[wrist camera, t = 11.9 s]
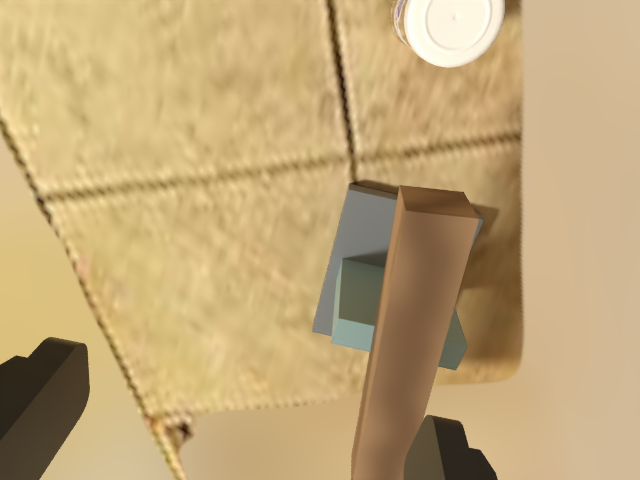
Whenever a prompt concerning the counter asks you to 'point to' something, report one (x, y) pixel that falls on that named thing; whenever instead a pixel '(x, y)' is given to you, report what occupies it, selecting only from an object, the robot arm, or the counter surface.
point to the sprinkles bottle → (447, 28)
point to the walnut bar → (411, 325)
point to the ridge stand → (367, 275)
